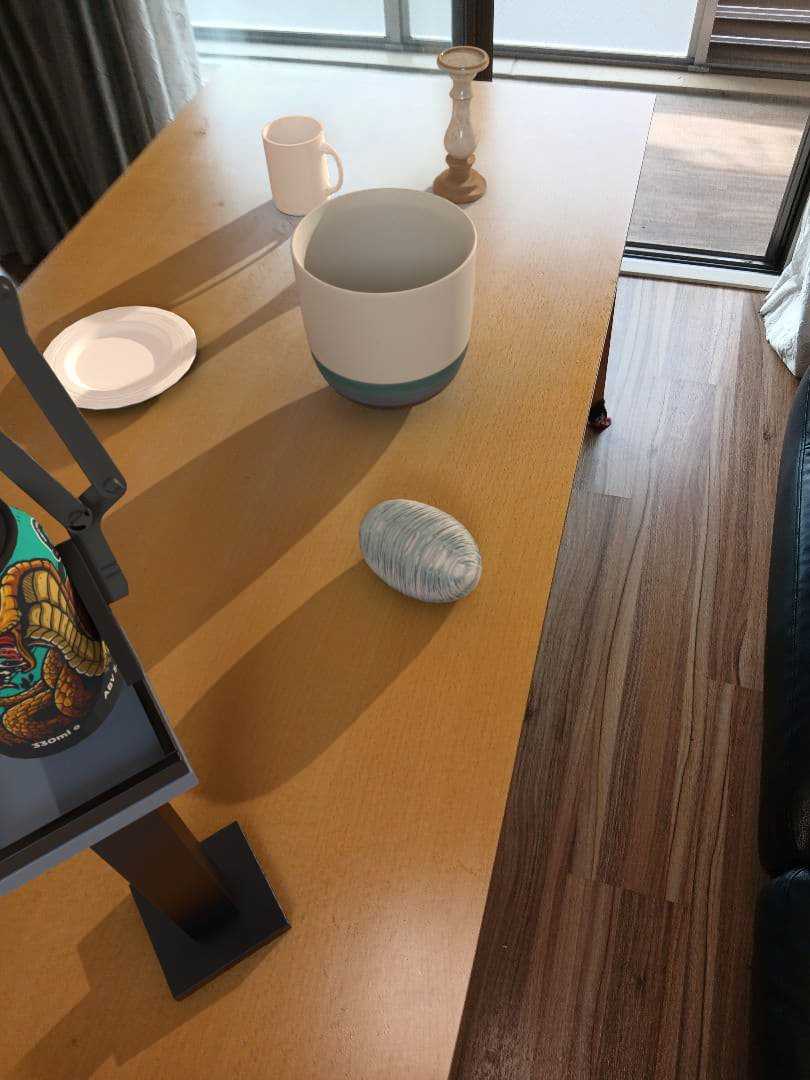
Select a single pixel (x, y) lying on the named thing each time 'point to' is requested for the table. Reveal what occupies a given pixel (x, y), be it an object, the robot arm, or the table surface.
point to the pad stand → (141, 840)
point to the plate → (122, 356)
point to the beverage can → (46, 648)
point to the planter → (386, 293)
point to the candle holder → (461, 127)
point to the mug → (298, 163)
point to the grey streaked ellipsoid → (420, 551)
